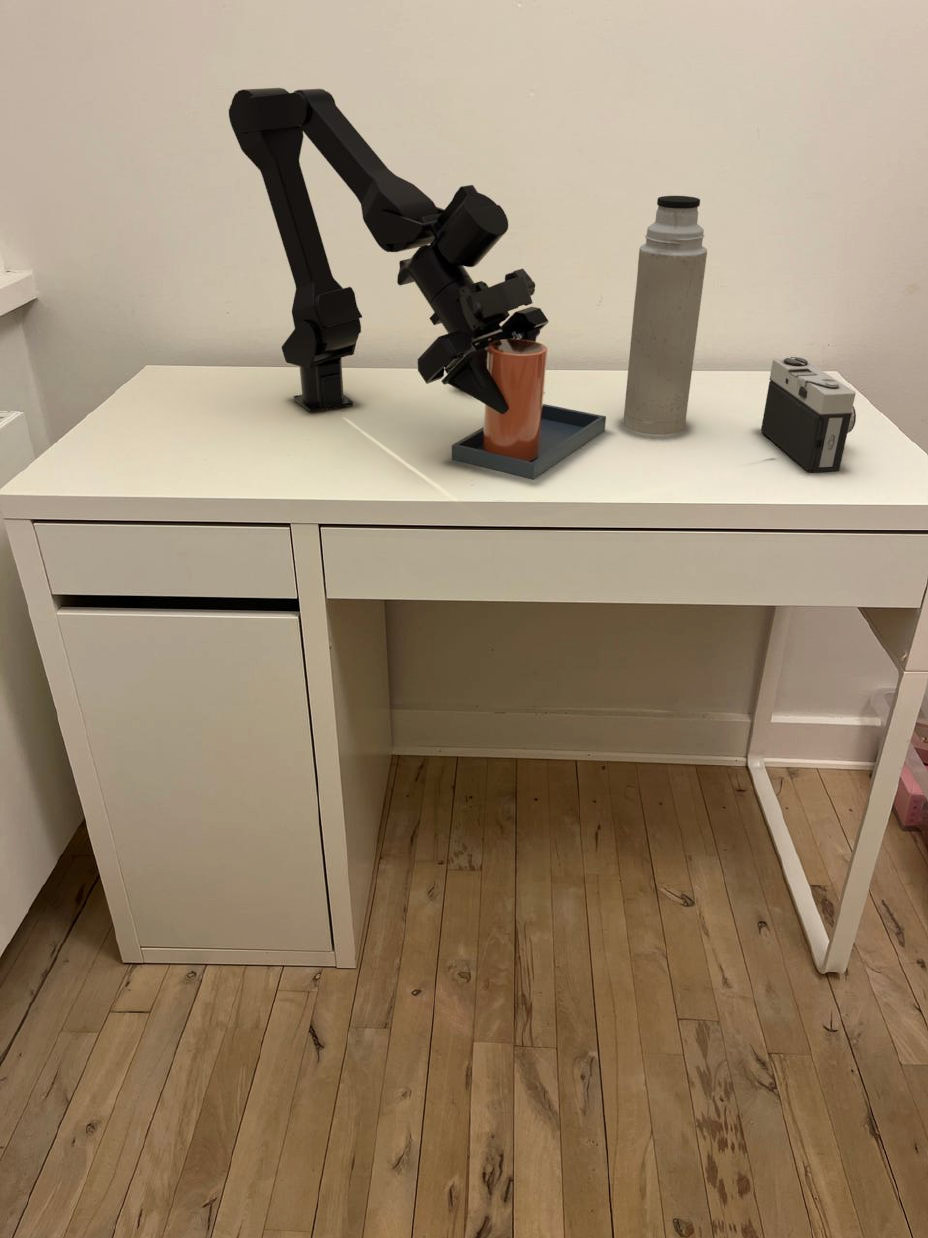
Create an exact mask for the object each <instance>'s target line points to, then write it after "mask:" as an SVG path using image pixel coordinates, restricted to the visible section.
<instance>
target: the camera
mask: <svg viewBox="0 0 928 1238" xmlns="http://www.w3.org/2000/svg"><path fill="white" fill-rule="evenodd" d="M768 380H769V383H768V387H767V393H766V399H765V405H764V410H763V417H762V422H761V427H760V431H761V433H762V434H764V435H765V436H766V437H767V439H769V440H771V441H772V442H773V443H774V444H775V445H776V446H778V447H779V448H780V449H781V450H782V451H784V452H785V454H787V455H788V456H790V457H791V458H792V459H793V460H794V461H796V462H797V463H798V464H799V465H800V466H802V467H803V468H804V469H805V470H806V471H807V472H809V473H823V472H839V471H840V469H841V464H842V459H843V455H844V451H845V446H846V442H847V436H848V434H849V433H851V432H852V431H853V430H854V428H855V425H856V421H857V414H856V408H855V406H854V402H855V400H856V399H855V398H856V394H857V393H856V391H855V390H853V389H852V388H851V387H848V386H847V385H845V384H844V383H843V382H840V381H839V380H838V379H836V378H834V377H832V376H831V375H830V374H828V373H827V372H825V371H824V370H822V369H820V368H819V367H817V366H815V365H814V364H812V363H811V362H809V361H808V360H807V359H805V358H802V357H797V356H791V357H786V358H774V359H772V363H771V369H770V375H769V379H768Z"/></svg>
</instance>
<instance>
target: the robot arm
mask: <svg viewBox="0 0 928 1238" xmlns="http://www.w3.org/2000/svg"><path fill="white" fill-rule="evenodd" d="M336 104H337V103H336V101H335V99H334V96H333V95H332V94H331V93H330V92H329V91H327V90H325V89H323V88H308V89H307V88H306V89H304V88H303V89H297V90H294V91H293V92H289V91H288V90H286V89H285V88H283V87H267V88H247V89H240V90H238V91H236V93H234V95H233V98H232V99H231V104H230V105H229V108H228V119H229V124H230V126H231V129H232V132H233V133H234V136H235V138H236V140H237V143H238V145H239V147H240V150H241V152H242V153H244V155H245V156H246V157H247V158H248V159H249V160H250V161H251V163H253V165H254V166H255V167H256V168H257V169H258V170H259V172H260V174H261V177H262V180H263V183H264V186H265V190H266V193H267V196H268V200H269V203H270V206H271V209H272V213H273V216H274V220H275V222H276V226H277V230H278V232H279V236H280V239H281V242H282V246H283V249H284V252H285V255H286V256H285V257H286V258H287V259H286V260H287V261H288V266H289V268H290V272H291V275H292V278H293V282H294V285H295V292H294V296H293V302H292V307H291V315H292V321H293V325H294V329H293V331H292V332H291V333H290V335H289V336H288V337H287V338H286V340H285V341H284V343H283V344H282V346H281V352H282V354H283V357H284V360H285V363H287V364H290V365H294V366H297V367H299V375H300V388H301V394H297V395H293V401H295V402H296V403H297V404H299V405H300V406H301V407H303V408H304V409H305V410H306V411H308V412H309V413H315V412H322V411H326V410H333V409H338V408H344V407H349V406H353V405H354V401H353V400H352V399H351V398H349V397H348V396H346V395H345V394H344V377H343V365H342V364H343V363H342V361H343V360H342V359H343V358H345V357H349V356H353V355H355V352H356V351H355V350H356V346H357V342H358V340H359V336H360V334H361V333H362V324H361V319H362V318H363V314H362V313H361V312H360V309H359V307H358V305H357V298H356V294H355V293H356V292H355V291H354V289H353V287H352V286H347V287H342V285H341V284H340V283H339V282H338V281H337V280H336V279H335V277H334V276H333V273H332V269H331V267H330V263H329V260H328V256H327V253H326V249H325V246H324V242H323V239H322V236H321V232H320V229H319V225H318V222H317V219H316V215H315V211H314V208H313V204H312V201H311V199H310V198H311V197H310V194H309V191H308V188H307V184H306V181H305V178H304V174H303V170H302V167H301V162H300V158H301V152H302V147H303V143H304V142H303V141H304V137H305V136H306V137H307V138H308V140H309V141H310V142H311V143H312V144H313V145H314V147H315V148H316V149H317V150H318V152H319V153H320V154H321V155H322V157H323V158H324V159H325V160H326V162H327V163H328V164H329V165H330V166H331V167H332V169H333V170H334V171H335V173H336V174H337V175H338V176H339V178H341V180H342V181H343V182H344V184H345V185H346V186H347V187H348V188H349V190H350V191H351V192H352V193H353V194H354V196H355V197H356V199H357V201H358V202H359V204H360V208H361V214H362V215H361V216H362V220H363V222H364V224H365V226H366V227H367V229H368V231H369V233H370V234H371V236H372V238H373V240H375V242H376V244H377V245H378V246H379V247H380V248H381V250H383V251H384V252H387V253H400V252H404V251H408V250H413V249H417V250H416V251H415V252H414V254H413V255H412V256H411V257H410V258H406V259H402V260H399V271H398V274H397V280H396V283H397V285H398V286H405V285H408V284H411V283H415V286H416V287H417V288H418V289H419V291H420V292H421V294H422V296H423V297H424V299H425V300H426V301H427V303H428V305H429V306H430V308H431V309H432V311H433V313H432V314H431V316H430V317H429V321H430V322H431V323H432V325H433V326H438V325H439V324H440V325H442V326H443V328H444V329H445V331H446V334H443V335H440V336H438V337H437V338H436V339H435V340H434V341H433V342H432V343H431V344H430V346H428V347H427V349H425V351H424V352H423V353H422V354H421V355H420V356H418V357H419V358H417V372H418V374H419V375H420V376H421V377H422V380H423V381H424V382H425V384H426V385H428V384H431V383H433V382H436V381H439V380H441V379H442V380H441V384H443V385H444V386H445V385H450V386H451V387H453V388H455V389H458V390H459V391H461V392H463V393H465V394H467V395H469V396H470V397H473V398H474V399H476V400H477V401H479V402H481V403H482V404H484V405H485V404H486V405H487V406H489V407H491V408H492V409H494V410H496V411H497V412H499V413H501V414H504V413H506V412H507V411H508V410H509V407H508V405H507V403H506V401H505V399H504V397H503V395H502V393H501V391H500V390H499V388H498V386H497V384H496V383H495V381H494V379H493V377H492V376H491V374H490V372H489V371H488V369H487V367H486V352H485V350H488V345H489V344H490V343H491V342H494V341H497V340H504V339H521V340H529V341H534V342H537V337H539V336H540V335H541V331H542V329H544V327H546V325H548V324H549V319H548V318H547V316H546V315H545V313H544V311H543V310H542V308H540V307H535V306H529V305H532V304H533V303H534V302H533V299H532V296H534V294H535V291H536V289H535V288H536V283H535V281H534V280H533V279H532V277H531V276H530V275H529V273H527V271H526V270H525V269H524V268H519V269H516V270H513V271H512V272H509V273H505V275H504V281H502V282H498V283H496V284H493V285H491V286H489V285H488V284H487V282H485V281H483V280H480V281H477V282H474V280H473V278H472V277H471V275H470V274H469V272H468V271H467V269H466V268H474V267H476V266H477V265H478V264H480V263H481V261H482V260H483V259H484V258H485V257H486V256H487V255H488V253H489V252H490V251H491V250H492V249H493V248H494V247H495V245H497V243H498V242H499V241H500V240H501V239H502V238H503V236H504V235H505V234H506V233H507V231H508V230H509V220H508V217H507V214H506V212H505V210H504V209H503V207H502V206H501V205H500V204H497V203H496V202H495V201H494V200H493V199H491V198H490V197H489V196H487V195H485V194H483V193H480V192H478V190H477V188H476V187H475V186H474V184H469V185H462V186H460V187H459V188H458V189H457V191H456V192H455V193H454V195H453V198H452V199H451V201H450V202H449V203H448V205H447V206H446V207H445V209H444V208H441V207H438V206H436V204H435V202H434V201H433V200H432V199H431V198H430V197H429V196H428V195H427V194H425V193H424V192H423V191H422V190H421V189H420V188H419V187H417V186H416V185H415V184H413V183H412V182H410V181H408V180H406V179H404V178H402V177H400V176H398V175H396V174H395V173H394V172H393V171H391V170H390V169H389V168H388V166H387V165H386V164H385V163H384V161H383V160H382V159H381V158H380V156H379V155H378V154H377V153H376V152H375V151H374V150H373V148H372V147H371V146H370V145H369V144H368V142H367V141H366V140H365V139H364V137H363V136H362V135H361V133H359V132H358V130H357V129H356V128H355V127H354V125H353V124H352V123H351V122H350V121H349V119H348V118H347V117H346V116H345V115H344V114H343V112H342V111H341V110H340V108H339V107H338V106H337V105H336ZM304 135H305V136H304ZM522 306H526V308H522V309H520V310H517V311H514V313H512V314H510V313H509V312H511V311H513V310H516V309H518V308H519V307H522ZM527 306H529V307H527ZM502 322H503V324H502ZM500 324H502V325H500ZM489 339H491V340H489ZM488 340H489V341H488ZM445 373H446V375H445Z"/></svg>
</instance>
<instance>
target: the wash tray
mask: <svg viewBox="0 0 928 1238" xmlns="http://www.w3.org/2000/svg"><path fill="white" fill-rule="evenodd" d="M606 423H607V416H606V415H601V414H596V413H590V412H585V411H581V410H576V409H572V408H571V409H570V408H566V407H562V406H556V405H551V404H547V403H546V404H545V403H543V409H542V421H541V433H540V445H539V455H538V457H537V458H536V459H534V460H532V461H525V460H521V459H517V458H513V457H508V456H504V455H500V454H495V453H491V452H487V451H483V433H484V426H483V427H481V428H479V429H477V430H475V431H474V432H472V433H470V434H469V435H467V436H465V437H463V438H461V439H460V440H458V441H456V442H455V443H453V444H452V445H451V461H453V462H454V461H456V462H458V463H463V464H467V465H471V466H475V467H480V468H482V469H483V468H484V469H488V470H492V471H496V472H500V473H504V474H507V475H512V476H515V477H516V476H517V477H521V478H525V479H528V480H535V479H537V478H538V477H540V476H541V475H543V474H544V473H545V472H547V471H549V470H550V469H551V468H554V466H556V465H557V464H559V463H560V462H561V461H563V460H565V459H566V458H567V457H568V456H570V455H572V454H573V453H574V452H576V451H577V450H579V449H580V448H581V447H583V446H585V445H586V444H588V443H589V442H590V441H592V440H593V439H594V438H596V437H597V436H599V435H600V434H602V433H603V432H604V431H606Z"/></svg>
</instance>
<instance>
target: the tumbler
mask: <svg viewBox="0 0 928 1238" xmlns="http://www.w3.org/2000/svg"><path fill="white" fill-rule="evenodd" d="M547 360H548V347H547V346H546V345H544V344H543V343H540V342H537V341H536V342H534V341H529V340H521V339H504V340H497V341H494V342H491V343H490V344H489V345H488V357H487V369H488V371H489V372H490V374H491V376H492V377H493V379H494V381H495V383H496V384H497V386H498V388H499V390H500V391H501V393H502V395H503V397H504V399H505V401H506V403H507V405H508V407H509V410H508V411H507V412H506V413H504V414H501V413H499V412H497V411H496V410H494V409H492V408H491V407H489V406H487V405H486V404H484V414H483V415H484V416H483V427H484V433H483V451H487V452H491V453H495V454H500V455H504V456H508V457H513V458H517V459H521V460H525V461H532V460H534V459H536V458H537V457H538V455H539V445H540V433H541V421H542V409H543V404H544V397H545V396H544V395H545V385H546V384H545V382H546V371H547V362H548V361H547Z"/></svg>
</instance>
